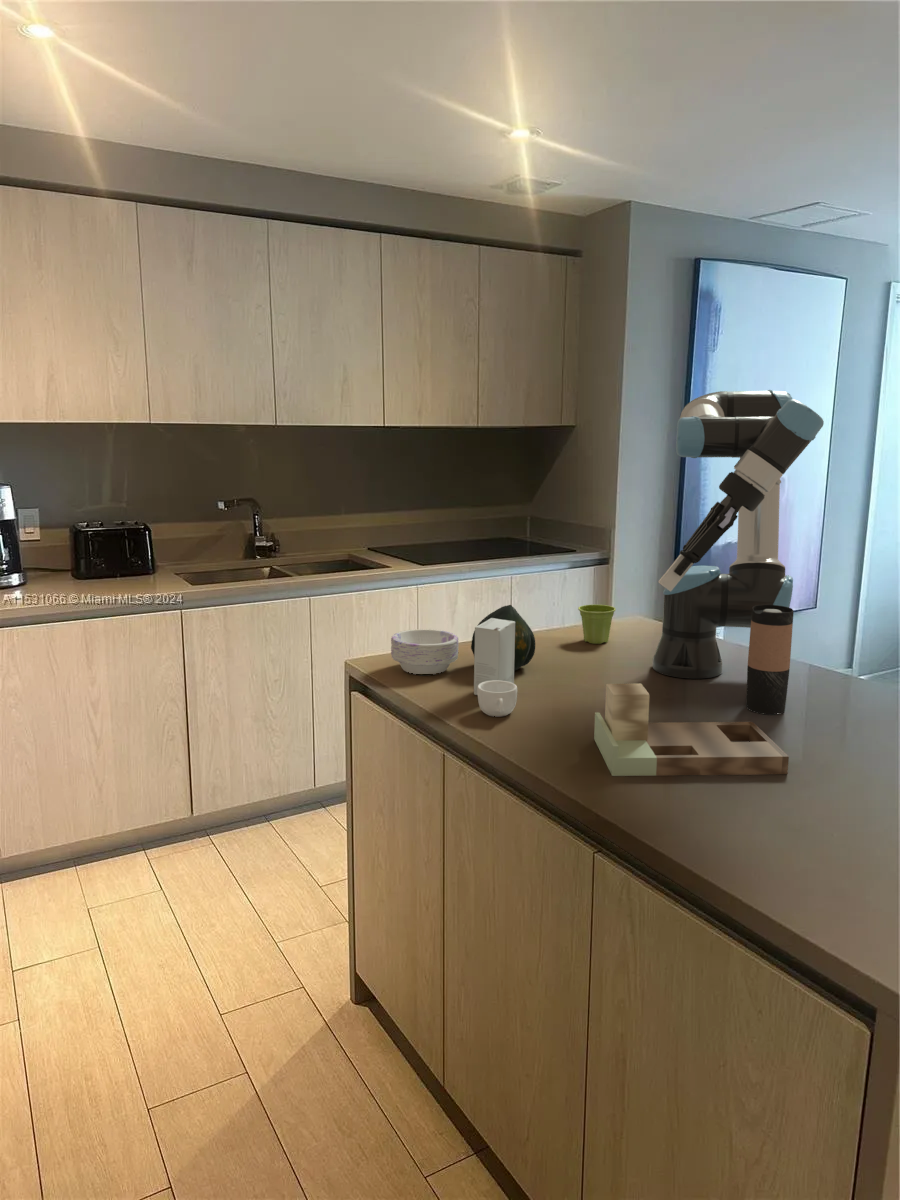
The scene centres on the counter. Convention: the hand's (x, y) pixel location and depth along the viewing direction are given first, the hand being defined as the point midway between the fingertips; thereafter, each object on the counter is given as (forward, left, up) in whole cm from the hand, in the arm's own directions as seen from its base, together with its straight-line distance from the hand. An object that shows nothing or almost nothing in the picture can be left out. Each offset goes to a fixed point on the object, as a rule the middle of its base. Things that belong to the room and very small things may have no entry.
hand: (664, 586), depth 158 cm
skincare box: (+23, -25, -26) cm, 43 cm away
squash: (+14, -41, -26) cm, 51 cm away
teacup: (+28, -12, -26) cm, 40 cm away
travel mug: (-22, +4, -26) cm, 34 cm away
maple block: (+15, +12, -22) cm, 30 cm away
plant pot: (-18, -54, -26) cm, 63 cm away
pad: (+17, +15, -25) cm, 34 cm away
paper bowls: (+31, -46, -26) cm, 61 cm away
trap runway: (+4, +19, -25) cm, 32 cm away
